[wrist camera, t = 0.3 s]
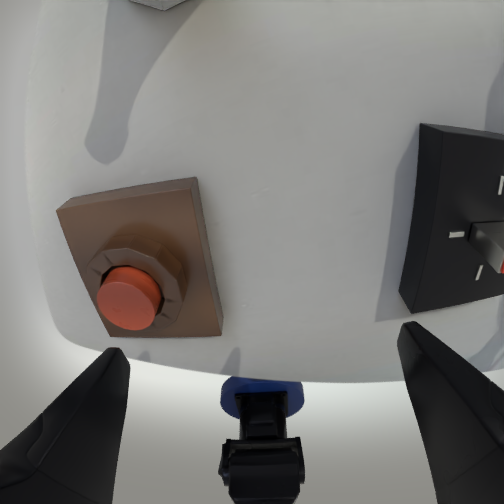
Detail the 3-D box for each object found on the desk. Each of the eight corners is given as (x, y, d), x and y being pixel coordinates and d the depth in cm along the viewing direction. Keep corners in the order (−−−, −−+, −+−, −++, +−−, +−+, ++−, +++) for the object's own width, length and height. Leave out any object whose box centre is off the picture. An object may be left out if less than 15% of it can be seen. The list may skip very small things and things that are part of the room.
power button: (167, 312, 20) (162, 330, 18) (117, 313, 20) (109, 330, 19) (151, 263, 18) (143, 280, 16) (98, 267, 18) (87, 283, 17)
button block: (223, 317, 25) (219, 353, 22) (117, 320, 25) (103, 352, 22) (196, 176, 19) (184, 198, 15) (70, 198, 19) (41, 221, 16)
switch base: (493, 275, 23) (509, 294, 20) (397, 291, 24) (411, 315, 21) (523, 139, 16) (548, 149, 13) (419, 122, 17) (444, 131, 14)
